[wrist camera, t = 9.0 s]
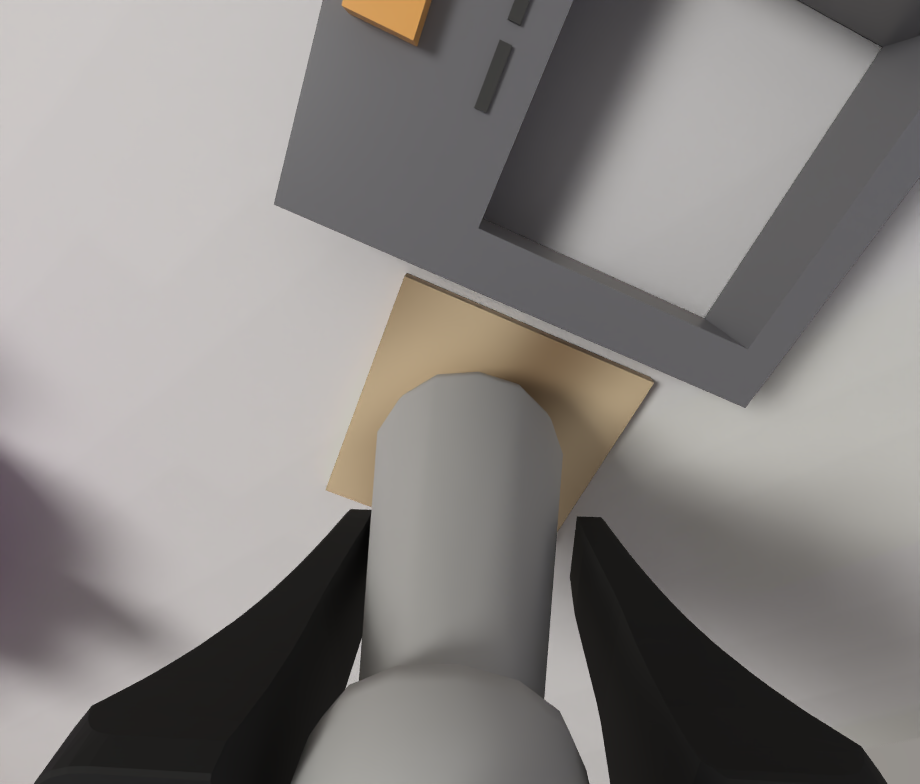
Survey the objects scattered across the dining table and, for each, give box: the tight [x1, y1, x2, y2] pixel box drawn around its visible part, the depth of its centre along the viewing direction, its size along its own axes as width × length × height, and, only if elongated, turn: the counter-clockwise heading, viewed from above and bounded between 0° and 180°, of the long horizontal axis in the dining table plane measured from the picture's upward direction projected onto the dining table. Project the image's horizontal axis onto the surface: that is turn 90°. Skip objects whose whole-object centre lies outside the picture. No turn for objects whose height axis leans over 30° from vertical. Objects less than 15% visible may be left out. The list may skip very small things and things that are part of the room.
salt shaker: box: [291, 372, 589, 784], centre depth 12 cm, size 6×6×13 cm
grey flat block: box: [274, 0, 920, 408], centre depth 12 cm, size 14×11×4 cm
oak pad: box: [326, 273, 654, 532], centre depth 18 cm, size 9×9×1 cm
